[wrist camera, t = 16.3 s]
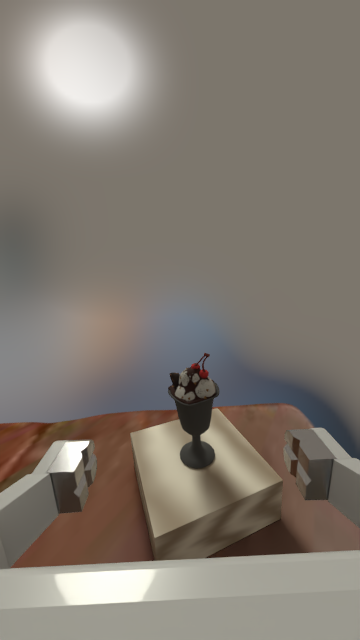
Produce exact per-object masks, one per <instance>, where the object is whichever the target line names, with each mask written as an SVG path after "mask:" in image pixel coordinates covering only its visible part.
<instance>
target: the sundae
mask: <svg viewBox="0 0 360 640" xmlns="http://www.w3.org/2000/svg"><path fill="white" fill-rule="evenodd" d="M204 356H206V358H207V357H209V354H206V353H205V354H204ZM204 356H203V357H204ZM203 357H202V358H203ZM202 358H201V360H202ZM206 358H205V359H206ZM205 359H204V361H205ZM201 360H200V361H201ZM200 361H199V362H200ZM204 361H203V364H202V368H203V369H202V370H200V366H199V365H198V363H199V362H198V363H194V364H192V366H191V367H190V368H186V369H185V370H184V371H183V372H182V373H181V374H180V375H179V373H170V377H171V380H172V383H173V385H172V386H170V387H169V388H168V389H169V390H168V393H169V395H170V396H171V397H172V398H173V399H174V400H175V403H176V406H177V411H178V416H179V420H180V423H181V426H182V429H183V430H184V431H185V432H187V433H188V434H190V435H192V441H191V442H189V443H187V444H185V445H184V446H183V447H182V449H181V451H180V459H181V460H182V462H183V463H184V464H185V465H187V466H188V467H191V468H196V469H198V468H204V467H206V466H208V465H210V464H211V463H212V462H213V460H214V458H215V452H214V449H213V448H212V446H211V445H210V444H208V443H206V442H204V441H201V436H200V435H201V434H203V433H204V432H206V431H207V430H208V429H209V426H210V422H211V416H212V404H213V399H214V398H215V397H217V396H218V395H219V388H218V386H217V384H216V383H215V382H214V381H213V380H211V379H210V378H209V377H208V371H207V370H204Z"/></svg>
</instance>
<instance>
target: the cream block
mask: <svg viewBox="0 0 360 640" xmlns="http://www.w3.org/2000/svg"><path fill="white" fill-rule="evenodd" d="M130 435H131V443H132V451H133V459H134V466H135V471H136V475H137V480H138V485H139V490H140V494H141V499H142V504H143V508H144V513H145V518H146V522H147V527H148V532H149V536H150V541H151V546H152V550H153V555H154V560H155V561H163V560H183V559H202V558H206V557H208V556H210V555H212V554H214V553H215V552H217V551H219V550H221V549H223V548H225V547H227V546H229V545H231V544H233V543H235V542H237V541H239V540H241V539H242V538H244V537H246V536H248V535H250V534H252V533H254V532H256V531H258V530H260V529H262V528H264V527H266V526H268V525H269V524H271V523H273V522H275V521H277V520H279V519H281V504H282V486H283V480H282V479H281V478H280V477H279V476H278V474H277V473H276V472H275V471H274V470H273V469H272V468H271V467H270V466H269V465H268V463H267V462H266V461H265V460H264V459H263V458H262V457H261V456H260V455H259V453H258V452H257V451H256V450H255V449H254V448H253V447H252V446H251V445H250V444H249V442H248V441H247V440H246V439H245V438H244V437H243V436H242V435H241V434H240V433H239V431H238V430H237V429H236V428H235V427H234V426H233V425H232V424H231V423H230V422H229V420H228V419H227V418H226V417H225V416H224V415H223V414H222V413H221V412H220V411H219V409H218V408H217V409H213V410H212V416H211V422H210V426H209V429H208V430H207V431H206V432H204V433H203V434H201V435H200V436H201V441H204V442H206V443H208V444H210V445H211V446H212V448H213V449H214V452H215V458H214V460H213V462H212V463H211V464H210V465H208V466H206V467H204V468H198V469H196V468H191V467H188V466H187V465H185V464H184V463H183V462H182V460H181V459H180V451H181V449H182V447H183V446H184V445H185V444H187V443H189V442H191V441H192V435H190V434H188V433H187V432H185V431H184V430H183V429H182V426H181V423H180V420H179V419H178V420H175V421H172V422H168V423H165V424H161V425H158V426H154V427H151V428H147V429H144V430H140V431H137V432H133V433H130Z"/></svg>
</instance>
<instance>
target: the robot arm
mask: <svg viewBox="0 0 360 640" xmlns="http://www.w3.org/2000/svg"><path fill="white" fill-rule="evenodd" d="M284 439H285V440H286V442H287V444H286V445H285V447H284V460H285V463H286V466H287V468H288V470H289V472H290V474H292V475H293V476H294V477H296V485H297V487H298V489H299V490H300V492H301V494H302V496H303V498H304V499H305V500H328V502H330V503H331V504H332V505H333V506H334V507H335V508H337V509H338V510H339V511H340V512H341V513H342V514H344V515H345V516H346V517H347V518H348V519H349V520H351V521H352V522H353V523H354V524H355V525H357V526H358V527H359V528H360V461H359V460H358V459H356V458H351V457H350V456H349V455H348V454H347V453H346V452H345V451H344V449H343V448H342V447H341V446H340V445H339V444H338V443H337V442H336V441H335V440H334V439H333V437H332V436H331V435H330V434H329V433H328V432H327V431H326V430H325V429H323V428H312V429H300V430H286V432H285V438H284ZM94 448H95V447H94V441H92V440H68V441H56V442H54V443H53V444H52V445H51V447H50V448H49V450H48V451H47V453H46V454H45V455H44V457H43V458H42V460H41V461H40V463H39V464H38V466H37V467H36V468H35V470H34V471H33V473H32V474H28V475H26V476H25V477H23V478H22V479H20V480H19V481H17V482H16V483H15V484H13V485H12V486H10V487H9V488H7V489H6V490H4V491H3V492H1V493H0V640H360V550H354V551H334V552H315V553H296V554H278V555H259V556H240V557H221V558H202V559H183V560H163V561H144V562H125V563H106V564H87V565H68V566H49V567H30V568H11V569H10V567H11V566H12V565H13V564H14V563H15V562H16V561H17V560H18V558H19V557H20V556H21V555H22V554H23V553H24V552H25V551H26V550H27V549H28V548H29V547H30V545H31V544H32V543H33V542H34V541H35V540H36V539H37V538H38V537H39V536H40V535H41V534H42V533H43V531H44V530H45V529H46V528H47V527H48V526H49V525H50V524H51V523H52V522H53V521H54V520H55V518H56V517H57V516H58V515H59V514H60V513H72V512H82V510H83V507H84V505H85V502H86V500H87V497H88V487H89V486H90V485H91V484H92V483H93V481H94V478H95V475H96V469H97V460H96V456H95V455H94V454H93V451H94Z"/></svg>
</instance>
